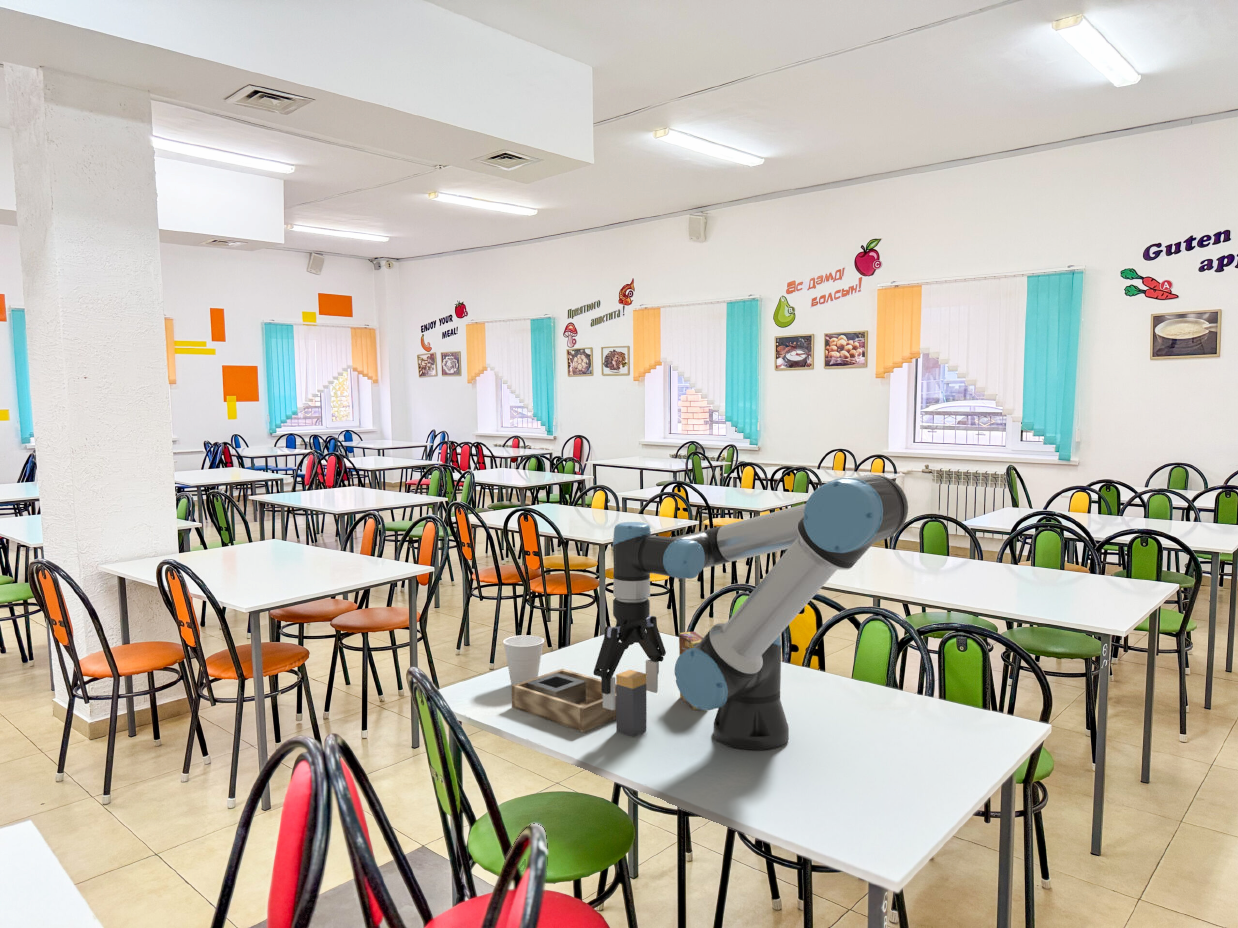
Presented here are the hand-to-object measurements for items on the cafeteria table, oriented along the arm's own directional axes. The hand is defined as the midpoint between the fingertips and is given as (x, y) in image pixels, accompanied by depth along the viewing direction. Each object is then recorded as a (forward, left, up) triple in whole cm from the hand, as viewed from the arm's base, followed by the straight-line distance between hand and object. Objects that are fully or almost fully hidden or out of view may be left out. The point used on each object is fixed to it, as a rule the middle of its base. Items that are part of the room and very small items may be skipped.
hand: (630, 699), depth 175 cm
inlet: (+23, -1, -7) cm, 24 cm away
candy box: (0, -22, -7) cm, 23 cm away
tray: (+18, -1, -7) cm, 19 cm away
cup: (+38, -5, -7) cm, 39 cm away
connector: (0, 0, -7) cm, 7 cm away
